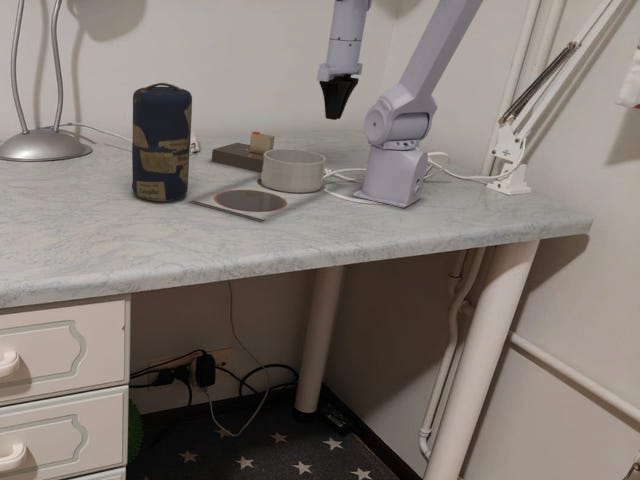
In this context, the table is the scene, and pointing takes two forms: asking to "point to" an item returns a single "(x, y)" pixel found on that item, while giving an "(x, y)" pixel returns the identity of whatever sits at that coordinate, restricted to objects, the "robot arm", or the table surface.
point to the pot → (293, 170)
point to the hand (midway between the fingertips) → (332, 118)
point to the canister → (161, 142)
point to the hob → (251, 201)
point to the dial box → (238, 157)
